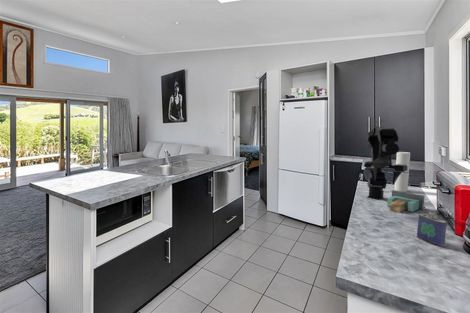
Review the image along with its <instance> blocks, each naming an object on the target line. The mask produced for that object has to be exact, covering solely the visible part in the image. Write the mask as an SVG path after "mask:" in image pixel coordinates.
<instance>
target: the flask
mask: <svg viewBox="0 0 470 313" xmlns="http://www.w3.org/2000/svg"><path fill="white" fill-rule="evenodd" d="M435 216H436V213H435V212H428V214H427V213H419V214H418V219H417V231H416V238H417V239H419V240H422V241H423V242H426V243H429V244H431V245H434V246H437V247H439V248H444V247H445V246H446V232H447V225H448V224H447V223H448V222H447V221H445V220H441V219H439V218H435Z"/></svg>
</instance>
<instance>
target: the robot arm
mask: <svg viewBox="0 0 470 313" xmlns="http://www.w3.org/2000/svg"><path fill="white" fill-rule="evenodd" d="M366 142H367V146H368V148H369V149H370V151H371V152H370V154H371V155H370V156H371V161H370V160H369V161H365V162H364V165H363V167H364V168H366V169H367V170H369V172H370V175H369V177H368V179H367V185H366V186H367V187H368V189H369V190H368V196H367V198H369V199H375V200H381V199H384V198H385V197H384V195H385V194H384V193H385V191H384V190H385V189H386V188H387V183H388V180H387V178H386V173H385V171H382V169H392V170H393V171H392V173H393V177H392V185H395V182H396V180H397V178H398V177H399V175H400V174H401V173H402V172H404V171H407V169H408V167H407V165H402V164H397V165H396V164H395V165H393V162H392V161H393V157H394V155H397V152H400V148H399V145H398V144H397V143H398V142H399V136H398V133H397V130H396V129H395V128H392V127H391V128H384V127H383V126H374V127H372V130H370V131H369V132H368V133H367V136H366Z"/></svg>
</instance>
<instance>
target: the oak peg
mask: <svg viewBox="0 0 470 313" xmlns="http://www.w3.org/2000/svg"><path fill="white" fill-rule="evenodd" d="M406 202H407V201H403V200H396V201H394V202H392V203H391V204H390V207H389V211H391V212H395V213H398V214H400V213H401V212H403V211H405V210H406V209H407V208H406Z"/></svg>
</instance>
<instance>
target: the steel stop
mask: <svg viewBox="0 0 470 313" xmlns="http://www.w3.org/2000/svg"><path fill="white" fill-rule="evenodd" d="M392 196H399V197H404V198H409V199H414V200H419V209H418V210H420V211H422V210H425V209H426V206H425V195H423V194H418V193H411V192H408V191H407V192H402V191H396V190H394V189H393V190H391V197H392Z"/></svg>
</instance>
